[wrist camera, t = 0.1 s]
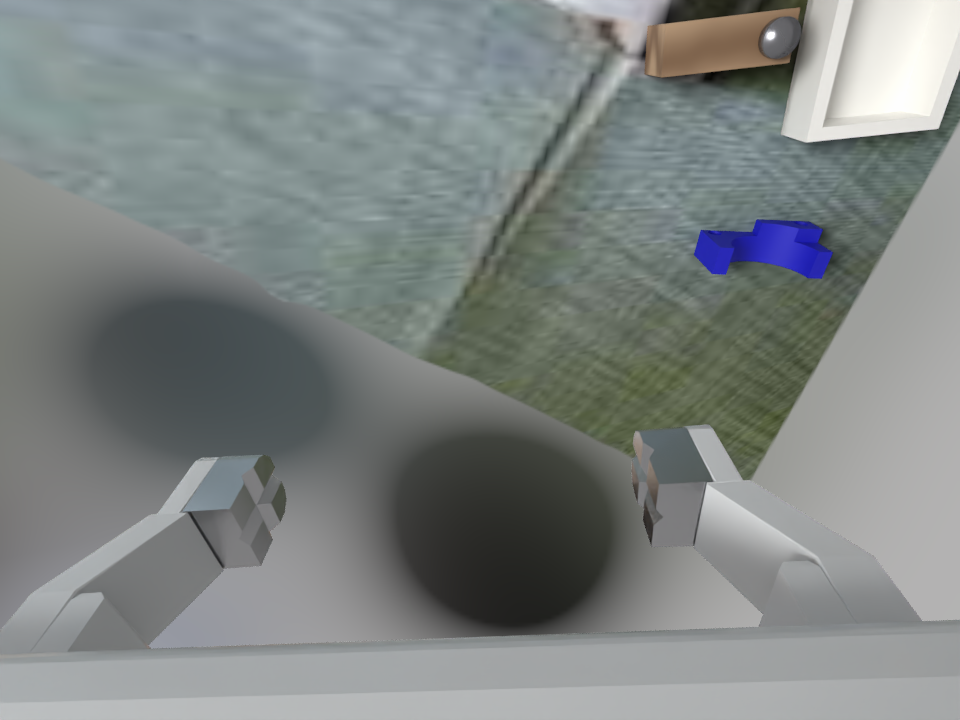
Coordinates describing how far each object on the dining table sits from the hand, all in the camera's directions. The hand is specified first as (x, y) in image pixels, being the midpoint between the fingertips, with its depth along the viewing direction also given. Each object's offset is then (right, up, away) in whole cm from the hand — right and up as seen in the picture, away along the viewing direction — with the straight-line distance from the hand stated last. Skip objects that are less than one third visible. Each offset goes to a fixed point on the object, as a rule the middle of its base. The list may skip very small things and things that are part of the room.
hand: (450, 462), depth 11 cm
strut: (+22, +33, +37) cm, 54 cm away
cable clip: (+32, +17, +47) cm, 60 cm away
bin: (+37, +34, +36) cm, 62 cm away
